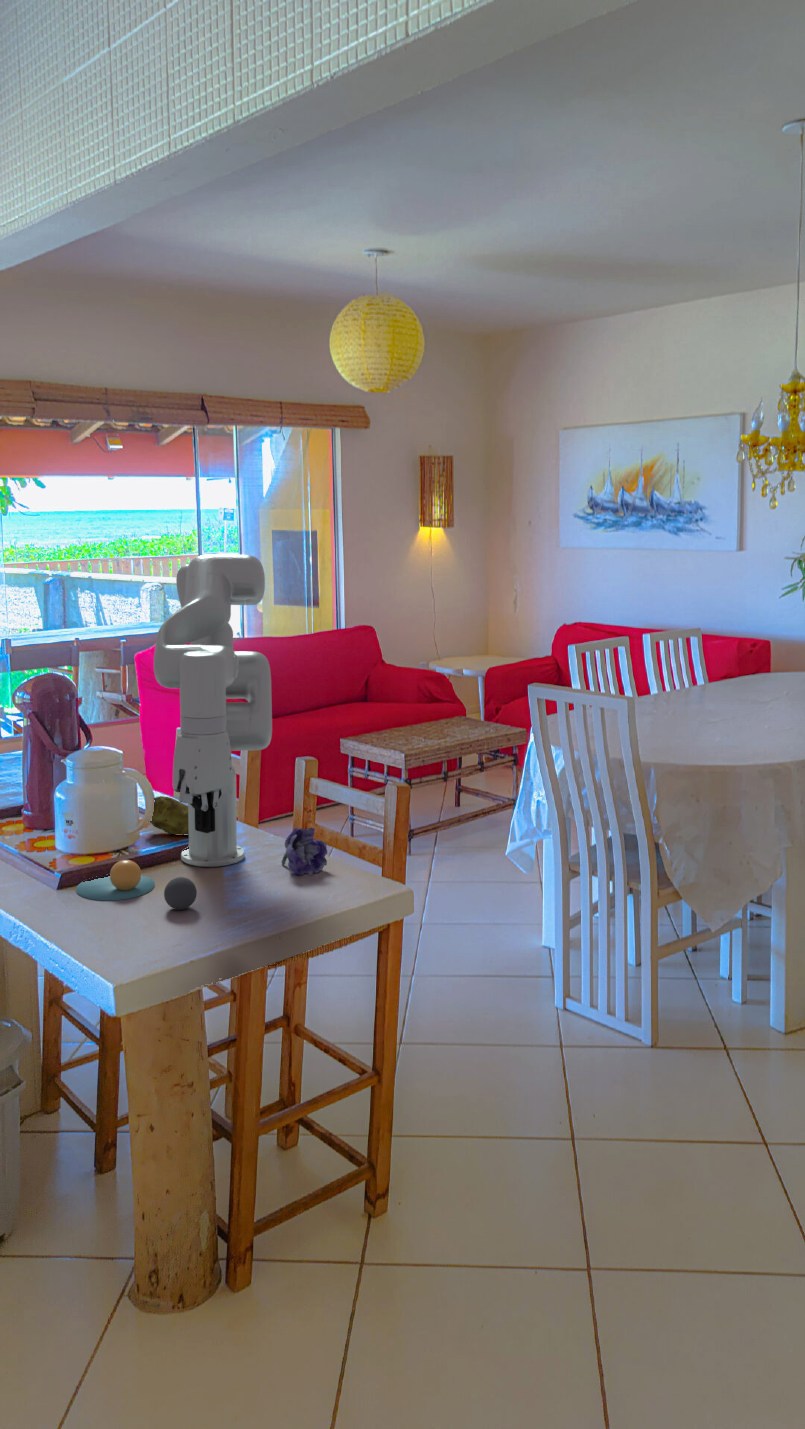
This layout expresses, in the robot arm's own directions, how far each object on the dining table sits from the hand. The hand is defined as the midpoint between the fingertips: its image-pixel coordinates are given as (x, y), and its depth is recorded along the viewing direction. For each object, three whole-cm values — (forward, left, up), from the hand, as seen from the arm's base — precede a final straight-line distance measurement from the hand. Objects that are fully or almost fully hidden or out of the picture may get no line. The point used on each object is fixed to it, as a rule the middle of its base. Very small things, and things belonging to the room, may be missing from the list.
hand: (205, 830), depth 182 cm
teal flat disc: (-12, -20, -15) cm, 28 cm away
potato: (-46, -18, -15) cm, 51 cm away
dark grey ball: (-2, -5, -12) cm, 14 cm away
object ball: (-10, -18, -12) cm, 24 cm away
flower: (-25, +12, -15) cm, 32 cm away
